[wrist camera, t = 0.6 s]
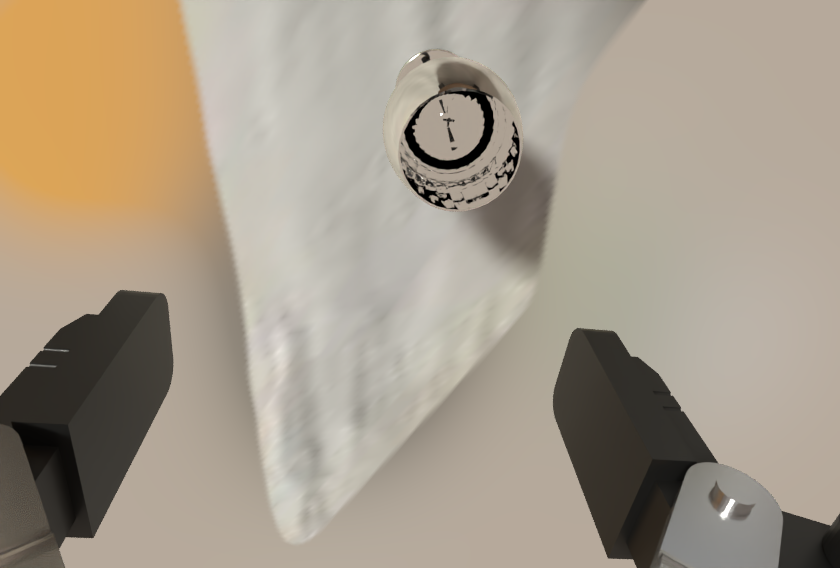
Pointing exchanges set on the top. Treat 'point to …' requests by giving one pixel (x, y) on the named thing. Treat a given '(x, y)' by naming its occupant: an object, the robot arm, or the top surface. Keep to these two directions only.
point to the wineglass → (452, 131)
